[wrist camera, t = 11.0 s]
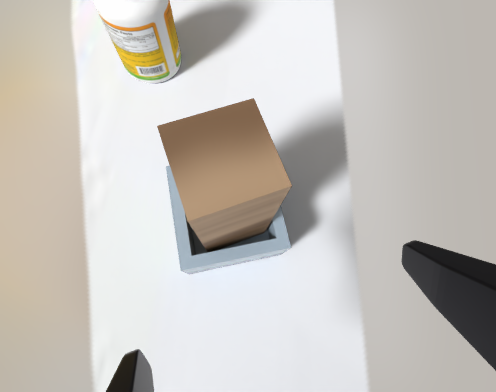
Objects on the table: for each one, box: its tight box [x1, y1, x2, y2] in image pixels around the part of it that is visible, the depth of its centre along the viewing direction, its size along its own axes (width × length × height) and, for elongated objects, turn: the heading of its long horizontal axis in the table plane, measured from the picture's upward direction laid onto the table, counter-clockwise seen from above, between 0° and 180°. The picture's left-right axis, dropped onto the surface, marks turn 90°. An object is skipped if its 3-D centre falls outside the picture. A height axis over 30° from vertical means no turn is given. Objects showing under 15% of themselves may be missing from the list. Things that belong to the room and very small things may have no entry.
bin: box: [166, 166, 291, 274], centre depth 22 cm, size 7×7×4 cm
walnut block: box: [157, 98, 292, 252], centre depth 18 cm, size 4×4×11 cm
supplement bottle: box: [93, 0, 181, 83], centre depth 24 cm, size 5×5×10 cm
